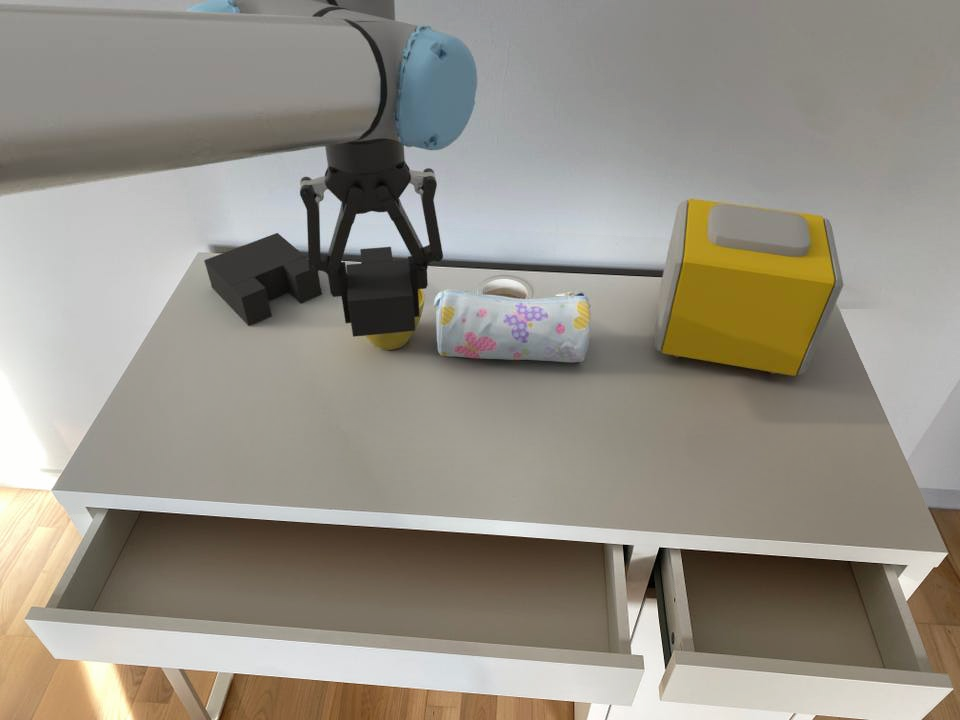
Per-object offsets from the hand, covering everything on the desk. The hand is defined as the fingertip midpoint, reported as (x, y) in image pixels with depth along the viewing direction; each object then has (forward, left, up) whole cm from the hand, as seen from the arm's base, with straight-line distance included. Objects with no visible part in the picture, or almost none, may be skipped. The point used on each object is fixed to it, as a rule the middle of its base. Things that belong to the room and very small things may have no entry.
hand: (382, 312), depth 83 cm
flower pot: (+6, +9, -14) cm, 18 cm away
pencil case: (+17, -4, -14) cm, 22 cm away
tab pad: (+1, +1, 0) cm, 1 cm away
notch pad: (-2, +30, -13) cm, 33 cm away
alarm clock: (+42, -21, -14) cm, 49 cm away
